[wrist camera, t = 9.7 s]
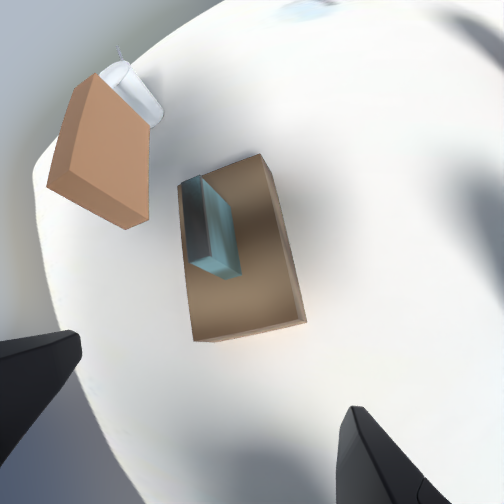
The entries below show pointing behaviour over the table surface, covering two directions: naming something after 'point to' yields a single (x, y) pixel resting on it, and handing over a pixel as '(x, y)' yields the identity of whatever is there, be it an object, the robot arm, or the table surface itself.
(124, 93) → the milkshake
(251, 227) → the brown display base
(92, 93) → the brown rectangular block
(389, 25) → the table surface
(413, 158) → the table surface
